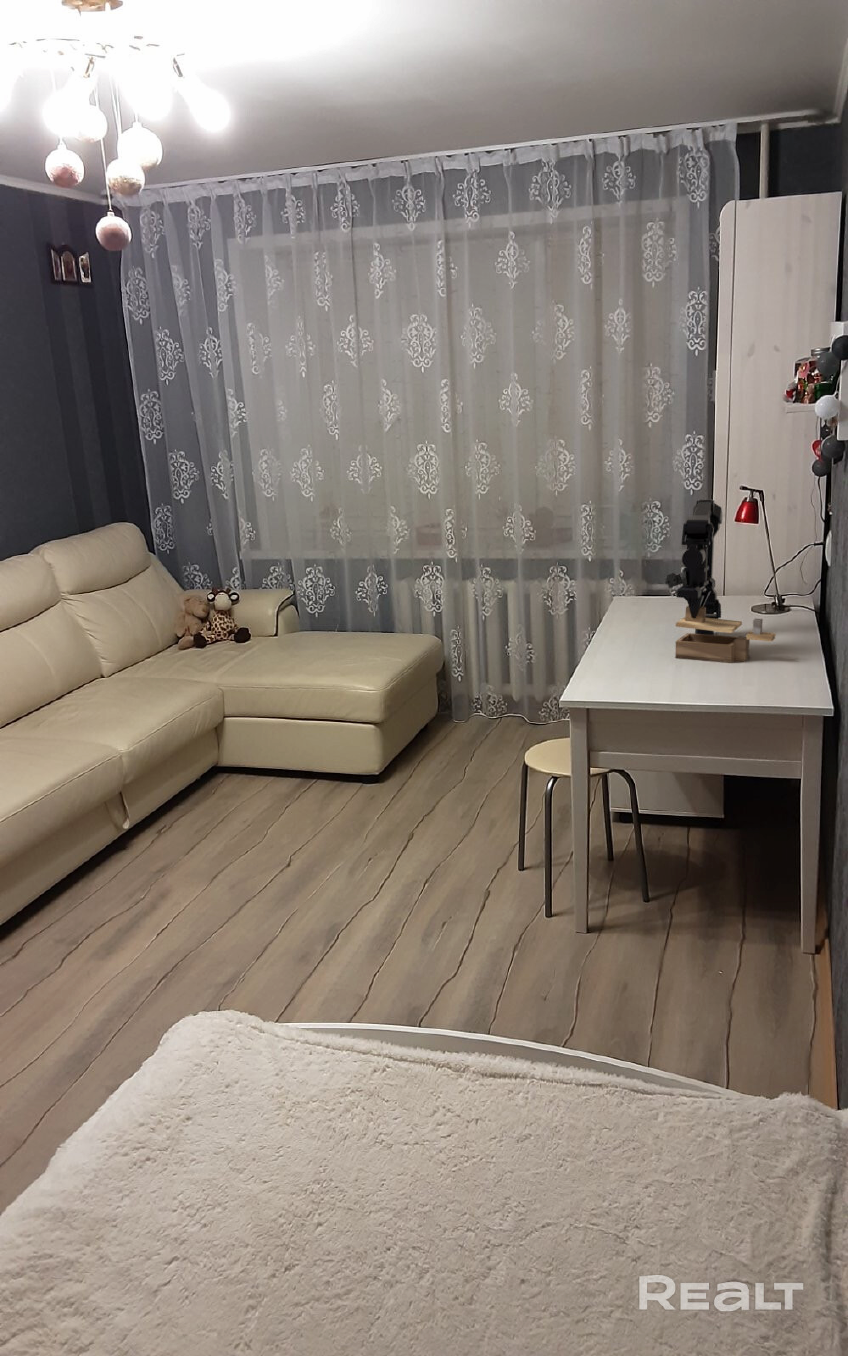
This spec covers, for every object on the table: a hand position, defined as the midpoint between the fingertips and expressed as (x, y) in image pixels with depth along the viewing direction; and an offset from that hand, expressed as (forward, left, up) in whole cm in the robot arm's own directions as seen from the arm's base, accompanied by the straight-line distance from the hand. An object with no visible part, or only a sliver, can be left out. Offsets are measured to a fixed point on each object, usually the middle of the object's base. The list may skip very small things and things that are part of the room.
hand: (695, 617), depth 305 cm
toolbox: (0, +6, -11) cm, 13 cm away
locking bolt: (0, +19, -5) cm, 19 cm away
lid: (0, +4, -2) cm, 5 cm away
